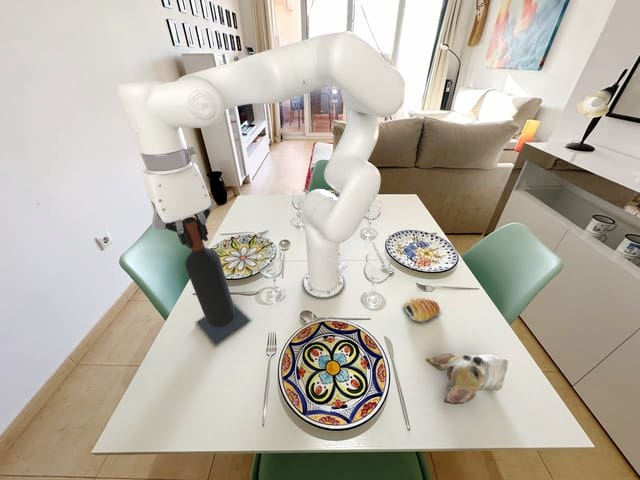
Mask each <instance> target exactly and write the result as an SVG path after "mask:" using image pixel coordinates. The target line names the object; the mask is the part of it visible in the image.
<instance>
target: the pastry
mask: <svg viewBox="0 0 640 480" xmlns="http://www.w3.org/2000/svg"><path fill="white" fill-rule="evenodd" d="M403 307H404V311H405V312H406V313H407V315H409V318H410V319H411V320H412V321H415V322H418V323H419V322H420V323H421V322H426V321H428V320H430V319H433V318H434V317H435V316H437V315H439V312H440V306H439V304H438V302H437V301H434V300H433V299H428V298H423V297H422V298H415V299H414V298H411V299H409V301H407V302H404V304H403Z"/></svg>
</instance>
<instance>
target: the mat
mask: <svg viewBox="0 0 640 480" xmlns="http://www.w3.org/2000/svg"><path fill="white" fill-rule="evenodd" d="M234 308H235V312H236V313H235V317H234V318H233V320H232V321H231V322H230V323H228V324H226V325H224V326H221V327H212V326H211V325H209V324H208V323H207V320H206V318H205V316H204V317H202V318H201V319H199V320H197V323H198V325H199V326H200V328H202V330H203V331H204V332H205V333H206V334H207V335H208V337H209V338H210V340H211V341H212V342H213V343H214V344H215V345H217V344H219V343H220V342H221V341H223V340H224V339H226V338H227V337H228V336H231V334H233V333H235V332H236V331H237V330H239V329H240V328H241V327H243V326H244V325H246V324H247V323H248V322H249V321H250V320H249V319H248V318H247V316H245V315H244V314H243V313H242V312H241V311H240V310H239V308H237V307H236V306H235V305H234Z"/></svg>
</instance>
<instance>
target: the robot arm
mask: <svg viewBox="0 0 640 480" xmlns="http://www.w3.org/2000/svg"><path fill="white" fill-rule="evenodd" d="M327 87H328V88H329V87H334V88H340V89H341V99H342V102H343V106H344V110H345V117H346V118H345V120H346V121H345V127H344V129H343V132H342V135H341V137H340V139H339V141H338V142H337V145H336V146H335V149H334V150H333V152H332V155H331V156H330V158H329V160H328V162H327V164H326V166H325V169H324V172H323V178H324V181H325V182H326V183H327V185H328V186H329V187H330V188H332V189H333V190H335V191H336V192H337V193H339V195H338V197H337V196H336V195H335V194H333V193H332V192H330V191H328V190H325V189H322V188H315V189H313V190H311V191H309V192H308V193H307V194H306V195H305V196H304V198H303V200H302V204H301V217H302V221H303V226H304V231H305V241H306V242H305V244H306V261H307V274H306V275H305V276H304V279H303V285H304V289H305V291H306V292H307V293H309V295H312V296H314V297H318V298H329V297H333V296H336V295H337V294H339V293H340V291H341V290H342V289H343V287H344V279H343V277H342V275H341V273H342V272H343V270H345V269H346V268H348V264H347V263H346V261H343V262H341V263H340V244H342V243H345V242H346V241H348V240H350V238H352V237H353V235H355V233H356V232H357V230H358V228H359V226H360V225H361V224H362V222H363V220H365V217H366V215H367V214H368V212H369V210H370V209H371V207H372V205H373V204H374V202H375V200H376V198H377V196H378V194H379V193H380V189H381V183H382V178H381V174H380V171H379V169H378V168H377V167H376V166H375V165H374V164H372V163H370V161H369V160H370V157H371V156H372V153H373V152H374V149H375V147H376V145H377V142H378V140H379V139H378V138H379V134H380V133H379V132H380V131H379V130H380V128H379V127H380V126H379V125H380V124H379V118H389V117H392V116H393V115H395V114H397V113H398V112H399V110H401V108H402V107H403V105H404V103H405V100H406V96H407V85H406V82H405V79H404V76H402V74H401V73H400V71H399V70H398V69H397V68H396V67H394V66H393V64H391V63H390V61H388V60H387V59H386V58H385V57H384V56H383V55H382V54H381V53H379V52H378V51H377V50H376V49H375V48H374V47H373V46H372V45H370V44H369V42H367V41H366V40H365V39H363V38H362V37H361V36H359V35H358V34H356V33H354V32H351V31H339V32H333V33H325V34H320V35H317V36H313V37H310V38H306V39H302V40H299V41H295V42H292V43H288V44H285V45H282V46H278V47H274V48H271V49H267V50H264V51H261V52H257V53H254V54H251V55H249V56H246V57H243V58H241V59H237V60H235V61H231V62H227V63H224V64H221V65H217V66H214V67H210V68H207V69H203V70H199V71H196V72H192V73H189V74H188V73H187V74H185V75H182V76H180V77H179V78H178V79H176V80H174V81H168V82H163V81H161V80H156V79H142V80H128V81H123V82H120V83H119V84H117V86H116V95H117V98H118V101H119V104H120V106H121V108H122V111H123V113H124V115H125V118H126V121H127V123H128V126H129V128H130V131H131V133H132V136H133V138H134V140H135V143H136V146H137V149H138V151H139V153H140V157H141V158H142V161H143V164H144V166H145V168H144V169H143V170H142V171H141V173H142V179H143V183H144V188H145V191H146V194H147V198H148V201H149V203H150V206H151V209H152V211H153V216H152V221H151V226H152V227H153V228H154V229H156V230H168V231H170V232H171V231H172V232H175V233H176V234H177V237H178V239H179V242H180V244H181V245H182V246H186V247H187V248H188V249H191V248H192V247H193V246H192V243H191V240H190V238H189V235H188V232H187V231H185V230H184V228H183V225H182V220H183V219H185V218H187V217H192V216H193V217H194V218H195V219H196V221H197V224H198V228H199V231H200V234H201V237H202V240H203V242H208V240H209V238H208V235H209V231H208V227H207V223H208V221H207V219H208V218H209V216H210V215H211V212H212V211H213V210H214V209H215V208H216V207H217V206H218V205H217V203H216V201H215V200H214V199H213V198H212V197H211V196H210V194H209V191H208V188H207V185H206V183H205V181H204V178H203V175H202V173H201V172H200V169H199V167H198V165H197V164H196V162H195V161H193V158H192V156H193V155H196V154H197V151H196V150H197V149H196V148H195V146H188V145H187V143H186V139H185V135H184V133H183V129H182V128H191V129H205V128H206V129H207V128H211V127H213V126H216V125H217V124H219V123H220V122H221V120H222V119H223V117H224V114H225V111H226V110H229V109H232V108H236V107H240V106H245V105H255V104H257V105H272V104H279V103H282V102H286V101H288V100H291V99H294V98H296V97H299V96H303V95H305V94H308V93H312V92H315V91H318V90H321V89H323V88H327ZM368 161H369V162H368Z"/></svg>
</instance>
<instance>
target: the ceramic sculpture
mask: <svg viewBox="0 0 640 480" xmlns="http://www.w3.org/2000/svg"><path fill="white" fill-rule="evenodd" d="M424 360H425V362H426V363H428V364H429V365H431V366H432V367H433V368H435V369H437V370H438V371H445V370H446V374H447V375H446V376H447V379H448V381H449V382H450V383H451V386H450V387H449V388H448V389H447V391H446V395H445V397H444V399H443V401H442V402H443V403H444V404H450V405H463V404H466V403H468V402H470V401H472V400H473V399H474V398H475V397H476V395H477V392H479V391H483V390H485V389H489V390H492V391H495V392H496V391H500V390H501V389H502V388H503V386H504V380H505V376H506V373H507V370H508V364H509V361H508V360H507V359H506V358H502V357H498V356H496V355H494V354H493V355H492V354H478V355H477V354H467V353H465V354H461V355H455V354H453V353H452V354H451V353H441V354H439V355H436V356H433V357H431V358H425V359H424Z"/></svg>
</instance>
